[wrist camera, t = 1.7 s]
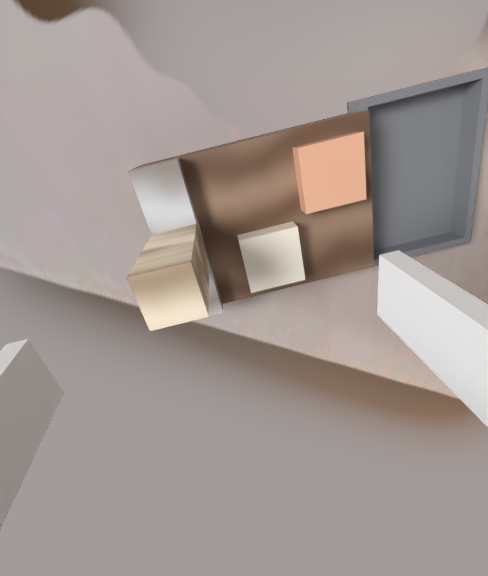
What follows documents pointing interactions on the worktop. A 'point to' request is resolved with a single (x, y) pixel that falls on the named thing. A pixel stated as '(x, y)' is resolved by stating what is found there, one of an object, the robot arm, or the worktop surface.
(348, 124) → the board
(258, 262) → the cream tile
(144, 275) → the two-tone beige block
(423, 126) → the tray
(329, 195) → the terracotta tile
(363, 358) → the worktop surface
